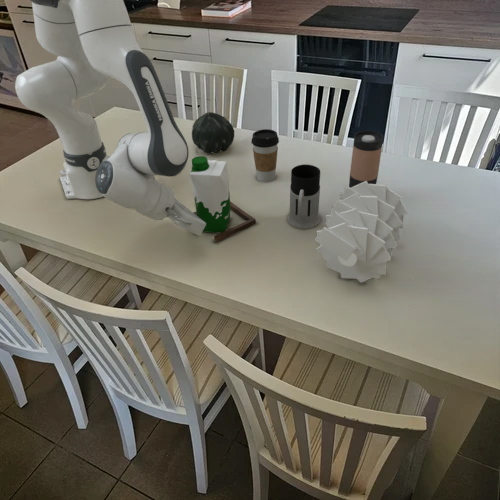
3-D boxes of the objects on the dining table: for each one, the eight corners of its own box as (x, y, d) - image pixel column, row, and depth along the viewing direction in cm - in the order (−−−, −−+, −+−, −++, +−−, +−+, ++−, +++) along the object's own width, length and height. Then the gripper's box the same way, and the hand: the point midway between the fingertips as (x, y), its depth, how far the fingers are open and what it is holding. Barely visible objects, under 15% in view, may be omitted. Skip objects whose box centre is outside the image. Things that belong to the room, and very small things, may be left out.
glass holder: (321, 211, 127) (324, 164, 118) (315, 242, 117) (318, 192, 107) (290, 209, 129) (291, 162, 120) (282, 238, 118) (282, 189, 109)
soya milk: (203, 215, 128) (194, 151, 116) (234, 217, 127) (229, 152, 115) (195, 233, 122) (185, 167, 109) (228, 235, 120) (221, 169, 108)
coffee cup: (248, 181, 142) (246, 137, 133) (258, 169, 148) (257, 125, 139) (273, 185, 140) (273, 140, 130) (282, 172, 146) (282, 129, 136)
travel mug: (376, 196, 132) (386, 132, 120) (370, 209, 127) (380, 144, 114) (350, 191, 135) (358, 128, 122) (343, 204, 130) (350, 140, 117)
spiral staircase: (382, 245, 120) (360, 304, 102) (327, 209, 122) (296, 261, 103) (426, 197, 108) (410, 255, 90) (364, 158, 109) (335, 206, 91)
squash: (221, 120, 167) (197, 98, 155) (248, 133, 159) (225, 111, 147) (201, 152, 168) (175, 133, 156) (226, 167, 160) (202, 148, 147)
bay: (188, 219, 127) (187, 214, 126) (226, 202, 133) (225, 198, 132) (216, 242, 118) (216, 238, 117) (256, 223, 124) (255, 219, 123)
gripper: (186, 208, 102) (224, 226, 112) (144, 174, 115) (182, 194, 125) (172, 231, 103) (211, 247, 113) (132, 195, 116) (171, 213, 126)
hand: (196, 219), depth 119 cm, fingers closed
